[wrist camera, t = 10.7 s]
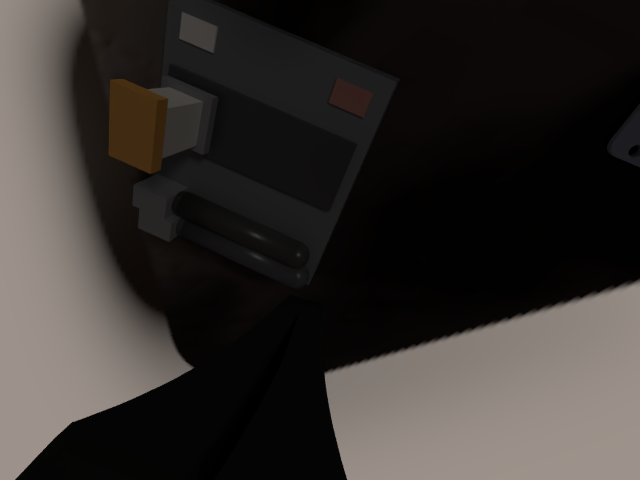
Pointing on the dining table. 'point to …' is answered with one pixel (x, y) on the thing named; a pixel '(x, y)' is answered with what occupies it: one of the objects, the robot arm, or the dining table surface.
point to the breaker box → (263, 141)
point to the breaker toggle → (158, 121)
